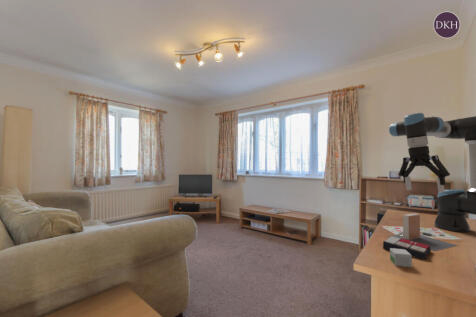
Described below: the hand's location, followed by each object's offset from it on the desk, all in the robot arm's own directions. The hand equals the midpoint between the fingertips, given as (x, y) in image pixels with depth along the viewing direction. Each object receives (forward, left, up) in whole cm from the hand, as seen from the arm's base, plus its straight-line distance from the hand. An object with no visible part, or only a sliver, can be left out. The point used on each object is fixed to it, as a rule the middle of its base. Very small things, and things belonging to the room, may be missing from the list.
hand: (424, 191), depth 102 cm
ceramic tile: (-6, -9, -26) cm, 28 cm away
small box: (+28, +7, -26) cm, 39 cm away
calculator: (+13, 0, -27) cm, 30 cm away
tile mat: (-6, -5, -26) cm, 27 cm away
